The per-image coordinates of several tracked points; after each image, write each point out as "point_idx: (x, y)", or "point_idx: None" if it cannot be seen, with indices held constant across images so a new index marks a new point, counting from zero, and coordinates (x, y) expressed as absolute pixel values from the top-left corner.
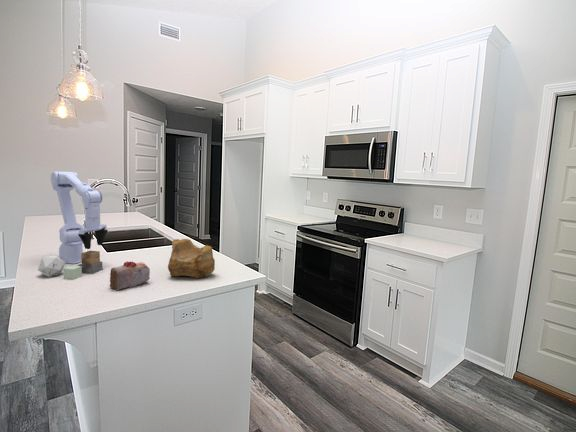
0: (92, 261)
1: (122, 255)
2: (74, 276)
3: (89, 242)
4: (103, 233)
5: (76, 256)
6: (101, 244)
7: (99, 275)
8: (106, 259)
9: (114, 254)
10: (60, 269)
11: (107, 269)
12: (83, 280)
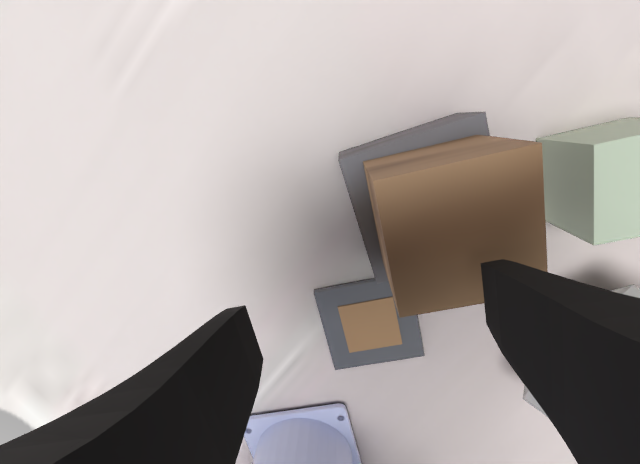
0: (480, 139)
1: (34, 324)
2: (635, 120)
3: (595, 293)
4: (101, 449)
5: (317, 455)
6: (242, 311)
7: (470, 26)
8: (162, 334)
9: (61, 382)
10: (622, 290)
11: (320, 118)
12: (627, 22)
